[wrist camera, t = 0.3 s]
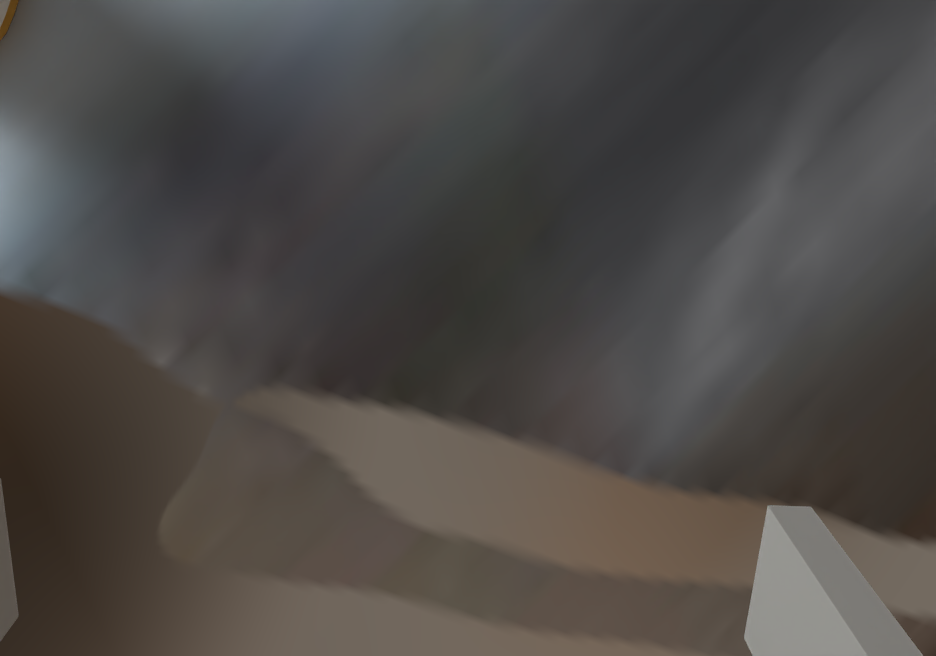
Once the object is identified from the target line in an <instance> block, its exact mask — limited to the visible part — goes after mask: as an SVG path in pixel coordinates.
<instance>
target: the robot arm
mask: <svg viewBox="0 0 936 656" xmlns="http://www.w3.org/2000/svg"><path fill="white" fill-rule="evenodd" d="M17 618H18V608H17V600H16V592H15V584H14V577H13V569H12V561H11V554H10V546H9V539H8V530H7V523H6V515H5V507H4V500H3V493H2V485H1V478H0V641H1V640H2V638H3V637H4V635H5V634H6V633H7V631H8V630H9V628H10V627H11V626H12V624H13V623H14V622H15V620H16V619H17ZM744 639H745V641H746V643H747V645H748V647H749V649H750V651H751V653H752V655H753V656H923V655H922V654H921V652H920V651H919V650H918V648H917V647H916V646H915V644H914V643H913V642H912V640H911V639H910V638H909V636H908V635H907V634H906V632H905V631H904V630H903V628H902V627H901V626H900V624H899V623H898V622H897V620H896V619H895V618H894V616H893V615H892V614H891V612H890V611H889V610H888V608H887V607H886V606H885V604H884V603H883V602H882V601H881V599H880V598H879V597H878V595H877V594H876V593H875V591H874V590H873V589H872V587H871V586H870V585H869V583H868V582H867V581H866V579H865V578H864V577H863V575H862V574H861V573H860V572H859V570H858V569H857V567H856V566H855V565H854V563H853V562H852V561H851V559H850V558H849V557H848V555H847V554H846V553H845V551H844V550H843V549H842V547H841V546H840V545H839V543H838V542H837V541H836V539H835V538H834V537H833V535H832V534H831V533H830V532H829V530H828V529H827V527H826V526H825V525H824V523H823V522H822V521H821V519H820V518H819V517H818V515H817V514H816V513H815V511H814V510H813V509H812V507H801V506H773V505H768V507H767V513H766V518H765V524H764V529H763V535H762V540H761V546H760V552H759V557H758V563H757V568H756V574H755V579H754V585H753V590H752V596H751V601H750V607H749V612H748V618H747V623H746V629H745V635H744Z"/></svg>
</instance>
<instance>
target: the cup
mask: <svg viewBox="0 0 936 656" xmlns="http://www.w3.org/2000/svg"><path fill="white" fill-rule="evenodd" d="M18 1H19V0H0V40H1V39H2V38H3V37H4V35H5V34H6V33H7V30H8V28H9V26H10V23H11V21H12V18H13V16H14V13H15V10H16V7H17V4H18Z"/></svg>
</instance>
